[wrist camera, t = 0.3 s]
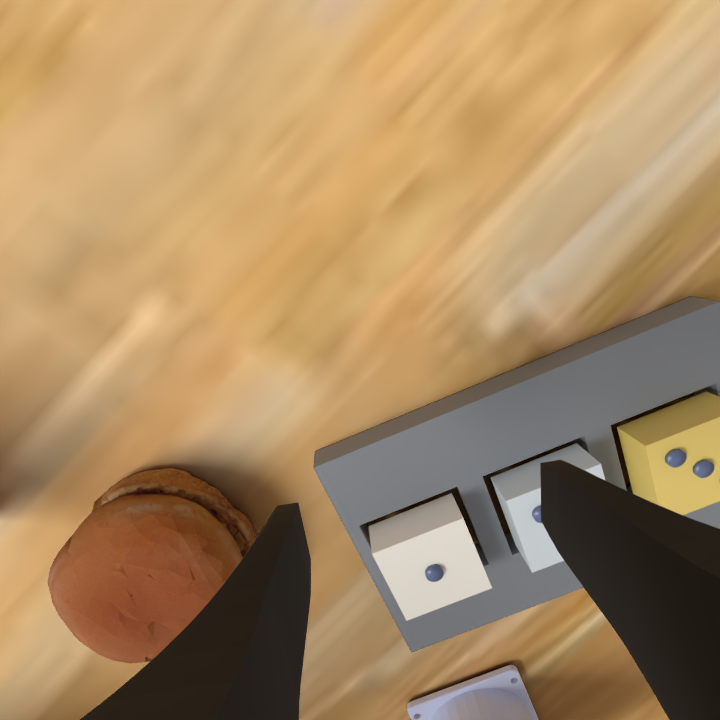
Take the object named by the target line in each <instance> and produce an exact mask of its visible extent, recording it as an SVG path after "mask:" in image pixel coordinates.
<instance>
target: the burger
mask: <svg viewBox="0 0 720 720" xmlns="http://www.w3.org/2000/svg"><path fill="white" fill-rule="evenodd" d="M255 540H256V536H255V532H254V530H253V528H252V525H251V522H250V521H249V519H248V518H247V517H246V516H245V515H244V514H243V513H242V512H240V511H239V510H237V509H235V508H233V507H232V505H231V504H230V502H229V501H228V500H227V499H226V498H225V497H224V496H223V495H222V494H221V493H220V491H219V490H218V489H216V488H215V487H213V486H209V485H208V484H207V482H205V481H203V480H201V479H198V478H195V477H193V476H191V474H190V473H188V472H186V471H183V470H179V469H173V468H167V469H158V470H148V471H144V472H140V473H137V474H134V475H131V476H129V477H126V478H124V479H122V480H121V481H119V482H118V483H117V484H115V485H114V486H112V487H110V488H109V489H108V490H107V491H106V492H105V493H104V494H103V495H102V496H101V497H100V498H98V499H97V500H96V501H95V502H94V506H93V510H92V513H91V514H90V515H89V516H88V517H87V518H86V519H85V520H84V521H83V522H82V524H81V525H80V526H79V527H78V529H77V530H76V531H75V533H74V534H73V535H72V536H71V537H70V538H69V540H68V541H67V542H66V544H65V545H64V546H63V547H62V549H61V550H60V551H59V553H58V554H57V556H56V558H55V559H54V561H53V564H52V566H51V568H50V573H49V578H48V586H49V590H50V594H51V598H52V602H53V604H54V606H55V608H56V610H57V612H58V614H59V616H60V617H61V619H62V620H63V621H64V623H65V624H66V625H67V627H68V628H69V629H70V631H71V632H72V633H73V635H74V636H75V637H76V638H77V639H78V640H79V641H80V642H82V643H83V644H84V645H86V646H87V647H89V648H90V649H92V650H93V651H95V652H96V653H98V654H99V655H102V656H104V657H106V658H109V659H111V660H114V661H120V662H125V663H138V662H148V661H152V660H153V659H154V658H155V657H156V656H157V655H158V654H159V653H160V652H161V651H162V650H163V649H164V648H165V647H166V646H167V645H168V644H169V643H170V642H171V641H172V640H173V639H174V638H175V637H176V636H177V635H178V634H180V633H181V632H182V631H183V630H184V629H185V628H186V627H187V626H188V625H189V624H190V623H191V621H192V620H193V619H194V618H195V617H196V616H197V615H198V614H199V613H200V612H201V611H202V609H203V608H204V607H205V606H206V605H207V604H208V603H209V601H210V600H211V599H212V598H213V597H214V595H215V594H216V593H217V592H218V591H219V589H220V588H221V587H222V585H223V584H224V583H225V582H226V580H227V579H228V578H229V576H230V575H231V574H232V572H233V571H234V570H235V568H236V567H237V566H238V564H239V563H240V562H241V560H242V559H243V557H244V556H245V554H246V553H247V551H248V550H249V548H250V547H251V546H252V544H253V543H254V541H255Z"/></svg>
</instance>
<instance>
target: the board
mask: <svg viewBox="0 0 720 720" xmlns="http://www.w3.org/2000/svg"><path fill="white" fill-rule="evenodd" d="M706 391H707V392H709V393H711V394H714V395H716V396H719V397H720V302H719V301H715V300H709V299H703V298H697V297H692V296H690V297H688V298H686V299H683V300H681V301H678V302H676V303H673V304H671V305H669V306H666V307H664V308H661V309H659V310H657V311H654V312H652V313H649V314H647V315H644V316H642V317H640V318H637V319H635V320H632V321H630V322H627V323H625V324H623V325H620V326H618V327H615V328H613V329H611V330H608V331H606V332H603V333H601V334H598V335H596V336H594V337H591V338H589V339H586V340H584V341H581V342H579V343H577V344H574V345H572V346H569V347H567V348H564V349H562V350H560V351H557V352H555V353H552V354H550V355H548V356H545V357H543V358H540V359H538V360H535V361H533V362H531V363H528V364H526V365H523V366H521V367H518V368H516V369H514V370H511V371H509V372H506V373H504V374H502V375H499V376H497V377H494V378H492V379H489V380H487V381H485V382H482V383H480V384H477V385H475V386H472V387H470V388H468V389H465V390H463V391H460V392H458V393H456V394H453V395H451V396H448V397H446V398H443V399H441V400H439V401H436V402H434V403H431V404H429V405H426V406H424V407H422V408H419V409H417V410H414V411H412V412H410V413H407V414H405V415H402V416H400V417H397V418H395V419H393V420H390V421H388V422H385V423H383V424H380V425H378V426H376V427H373V428H371V429H368V430H366V431H363V432H361V433H359V434H356V435H354V436H351V437H349V438H347V439H344V440H342V441H339V442H337V443H334V444H332V445H330V446H327V447H325V448H322V449H320V450H317V451H315V455H314V470H315V472H316V473H317V475H318V477H319V479H320V481H321V483H322V485H323V487H324V489H325V490H326V492H327V494H328V496H329V498H330V500H331V502H332V504H333V506H334V507H335V509H336V511H337V513H338V515H339V517H340V519H341V521H342V522H343V524H344V526H345V528H346V530H347V532H348V534H349V536H350V538H351V539H352V541H353V543H354V545H355V547H356V549H357V551H358V553H359V555H360V556H361V558H362V560H363V562H364V564H365V566H366V568H367V570H368V572H369V573H370V575H371V577H372V579H373V581H374V583H375V585H376V587H377V588H378V590H379V592H380V594H381V596H382V598H383V600H384V602H385V604H386V605H387V607H388V609H389V611H390V613H391V615H392V617H393V619H394V621H395V622H396V624H397V626H398V628H399V630H400V632H401V634H402V636H403V638H404V639H405V641H406V643H407V645H408V647H409V649H410V651H411V652H414V651H417V650H419V649H422V648H425V647H427V646H430V645H433V644H435V643H438V642H440V641H443V640H446V639H448V638H451V637H454V636H456V635H459V634H462V633H464V632H467V631H470V630H472V629H475V628H478V627H480V626H483V625H485V624H488V623H491V622H493V621H496V620H499V619H501V618H504V617H507V616H509V615H512V614H515V613H517V612H520V611H523V610H525V609H528V608H531V607H533V606H536V605H538V604H541V603H544V602H546V601H549V600H552V599H554V598H557V597H560V596H562V595H565V594H568V593H570V592H573V591H576V590H578V589H581V588H583V586H582V584H581V583H580V582H579V580H578V579H577V577H576V576H575V575H574V573H573V572H572V571H571V569H570V568H569V566H568V565H567V564H566V562H565V561H562V562H559V563H557V564H554V565H551V566H549V567H546V568H544V569H541V570H538V571H536V572H533V573H532V572H531V570H530V568H529V567H528V565H527V563H526V562H525V560H524V558H523V557H522V555H521V553H520V552H519V550H518V548H517V547H516V545H515V542H514V540H513V537H512V534H511V532H507V533H505V534H504V532H503V530H502V527H501V524H500V522H499V519H498V516H497V514H496V511H495V508H494V506H493V503H492V500H491V498H490V495H489V493H488V490H487V487H486V485H485V482H484V479H483V477H482V476H485V475H487V474H490V473H492V472H495V471H497V470H500V469H503V468H505V467H508V466H510V465H513V464H515V463H518V462H520V461H523V460H525V459H528V458H530V457H533V456H535V455H538V454H540V453H543V452H545V451H548V450H550V449H553V448H555V447H558V446H560V445H563V444H565V443H568V442H570V441H573V444H576V443H577V444H578V445H579V446H581V447H582V448H583V449H584V450H585V451H587V452H588V453H589V454H590V455H591V456H592V457H594V458H595V459H596V460H597V461H598V462H600V463H601V466H602V469H603V473H604V477H605V481H607V482H609V483H611V484H613V485H616V486H618V487H620V488H622V489H624V490H626V491H628V492H630V493H632V494H633V491H632V487H631V485H628V486H625V482H624V478H623V474H622V470H621V466H620V461H619V457H618V453H617V449H616V445H615V441H614V437H613V433H612V429H611V425H613V424H615V423H618V422H620V421H623V420H625V419H628V418H630V417H633V416H635V415H638V414H640V413H643V412H645V411H648V410H650V409H653V408H655V407H658V406H660V405H663V404H665V403H668V402H670V401H673V400H675V399H678V398H680V397H683V396H685V395H688V394H690V393H693V395H694V396H696V395H699V394H701V393H704V392H706ZM455 487H456V488H457V491H458V493H459V496H460V498H461V501H462V503H463V505H464V508H465V510H466V513H467V515H468V518H469V520H470V523H471V525H472V528H473V530H474V533H475V535H476V537H477V540H478V542H479V544H477V545H475V548H476V550H477V552H478V555H479V557H480V560H481V562H482V565H483V567H484V569H485V572H486V574H487V577H488V579H489V582H490V584H491V586H492V588H491V589H489V590H486V591H483V592H481V593H478V594H476V595H473V596H470V597H468V598H465V599H463V600H460V601H457V602H455V603H452V604H450V605H447V606H444V607H442V608H439V609H436V610H434V611H431V612H429V613H426V614H423V615H421V616H418V617H416V618H413V619H410V620H408V621H406V619H405V617H404V615H403V613H402V611H401V609H400V607H399V605H398V603H397V601H396V600H395V598H394V596H393V594H392V592H391V590H390V588H389V586H388V584H387V582H386V580H385V578H384V576H383V574H382V572H381V571H380V569H379V567H378V565H377V563H376V561H375V559H374V557H373V555H372V550H371V543H370V535H369V529H368V527H367V525H366V523H367V522H370V521H372V520H375V519H377V518H380V517H382V516H385V515H387V514H390V513H392V512H395V511H397V510H400V509H402V508H405V507H407V506H410V505H412V504H415V503H417V502H420V501H422V500H425V499H427V498H430V497H432V496H435V495H437V494H440V493H442V492H445V491H447V490H450V489H452V488H455ZM683 516H686V517H689V518H691V519H694V520H696V521H699V522H702V523H705V524H707V525H710V526H713V527H716V528H719V529H720V501H719V502H716V503H714V504H711V505H708V506H706V507H703V508H700V509H698V510H695V511H693V512H690V513H687V514H685V515H683Z"/></svg>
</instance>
